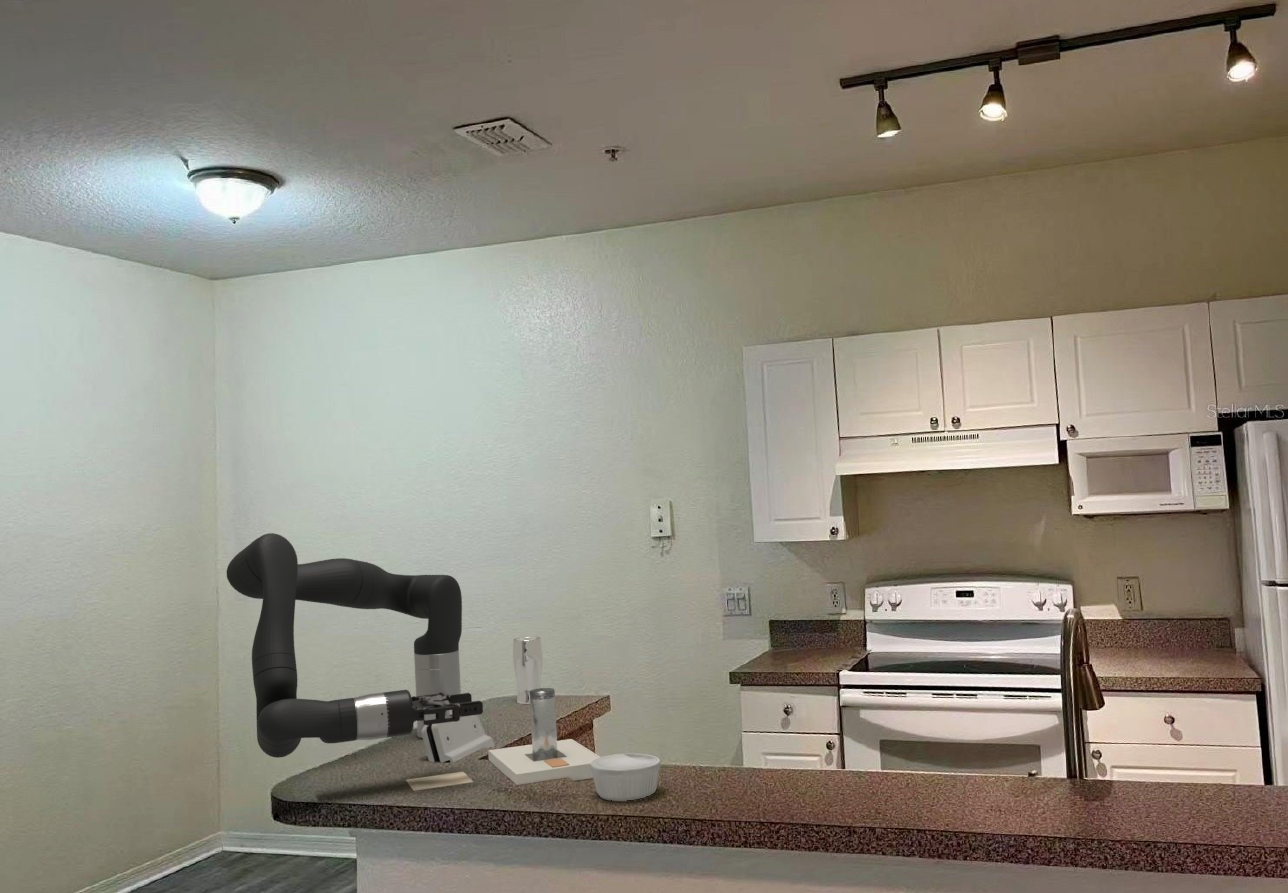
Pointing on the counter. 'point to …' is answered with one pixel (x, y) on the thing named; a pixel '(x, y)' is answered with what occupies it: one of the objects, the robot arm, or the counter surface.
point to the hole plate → (544, 763)
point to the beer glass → (527, 666)
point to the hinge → (455, 739)
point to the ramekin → (625, 776)
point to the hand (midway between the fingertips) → (476, 703)
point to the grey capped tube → (543, 724)
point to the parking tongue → (438, 781)
